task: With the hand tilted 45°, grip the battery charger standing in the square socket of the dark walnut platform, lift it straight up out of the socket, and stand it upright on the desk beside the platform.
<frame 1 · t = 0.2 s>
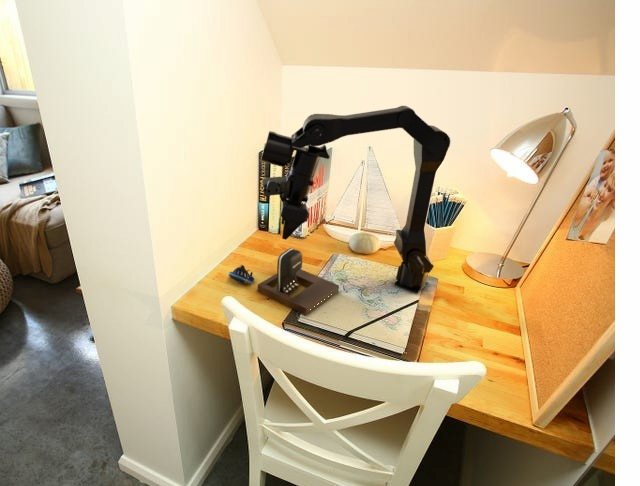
hand: (283, 231, 101), 15 cm above the table, tool pointing down, fingers open, 9 cm apart
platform: (297, 291, 105), on the table
sea urchin shell: (363, 249, 124), on the table
battery charger: (289, 291, 106), resting in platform
spaceship: (241, 281, 111), on the table
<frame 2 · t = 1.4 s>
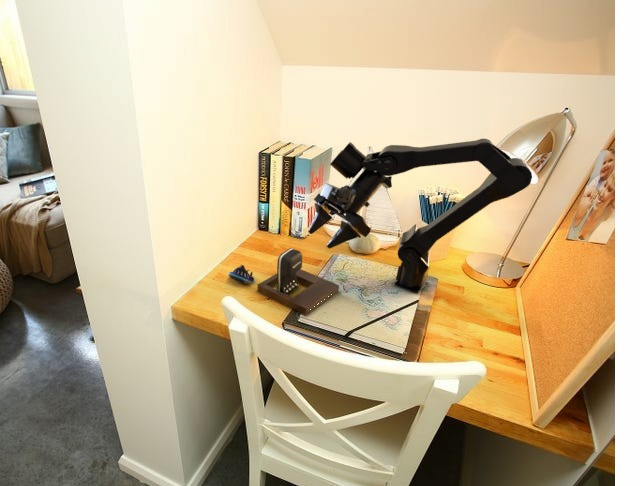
hand: (318, 240, 101), 13 cm above the table, tool tilted 45°, fingers open, 9 cm apart
nothing on the table moved.
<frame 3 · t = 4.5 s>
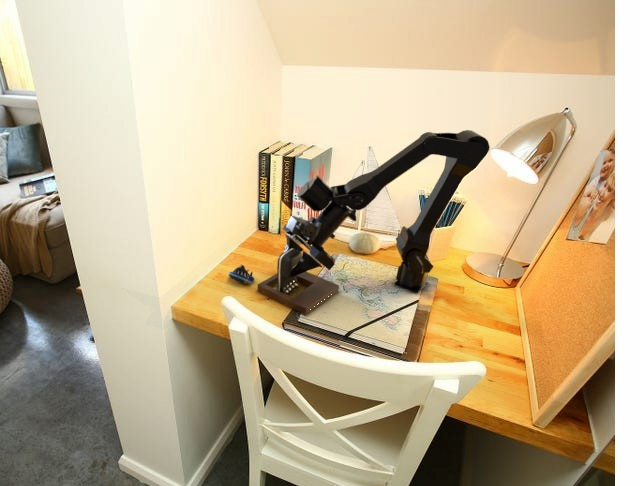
hand: (285, 270, 102), 7 cm above the table, tool tilted 45°, fingers closed on battery charger, 6 cm apart
battery charger: (289, 291, 106), resting in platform, touching gripper
everything else where it was.
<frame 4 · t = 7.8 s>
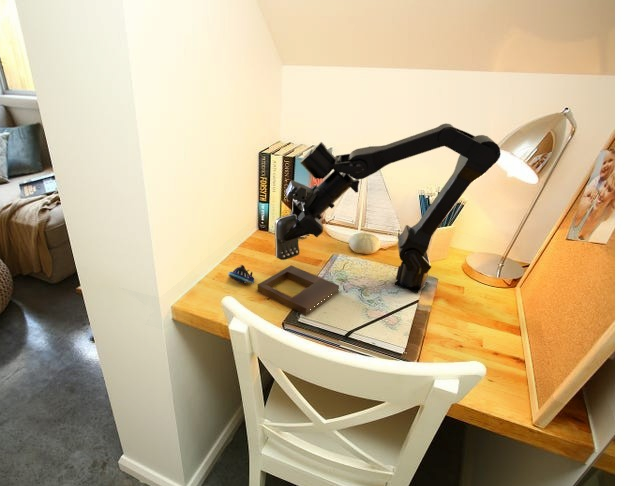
hand: (283, 234, 105), 13 cm above the table, tool tilted 45°, fingers closed on battery charger, 6 cm apart
battery charger: (288, 257, 108), point 6 cm above the table, touching gripper
everything else where it was.
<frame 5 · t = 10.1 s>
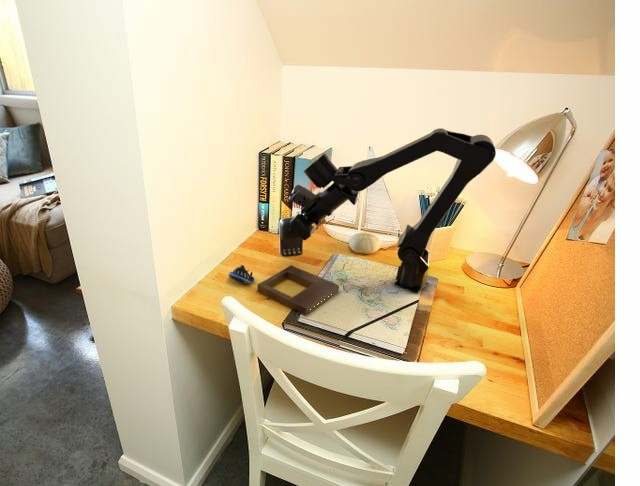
hand: (287, 233, 113), 10 cm above the table, tool tilted 45°, fingers closed on battery charger, 6 cm apart
battery charger: (291, 255, 116), point 3 cm above the table, touching gripper
everything else where it was.
when the fingers open (7 cm above the table, at t = 11.5 s): battery charger stays where it is, on the table.
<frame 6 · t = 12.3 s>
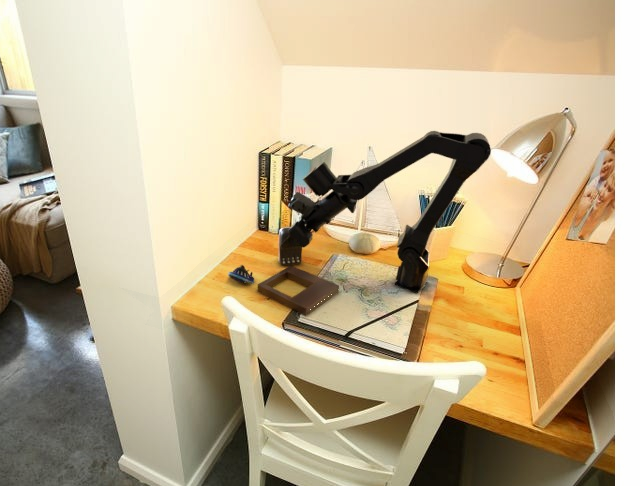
hand: (286, 240, 114), 8 cm above the table, tool tilted 45°, fingers open, 9 cm apart
battery charger: (290, 264, 118), on the table
everything else where it was.
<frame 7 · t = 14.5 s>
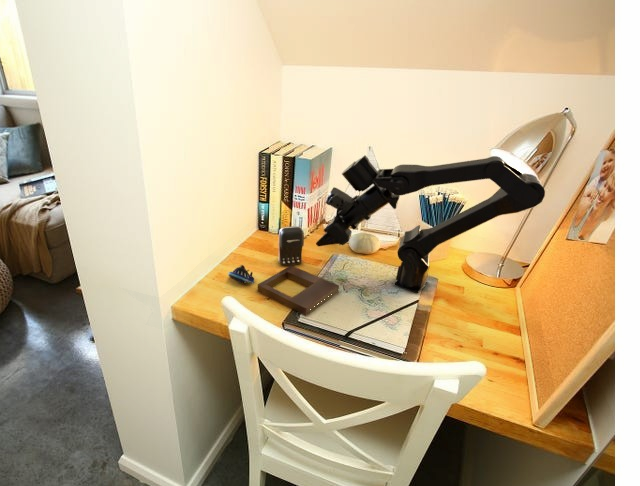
hand: (320, 237, 110), 10 cm above the table, tool tilted 45°, fingers open, 9 cm apart
nothing on the table moved.
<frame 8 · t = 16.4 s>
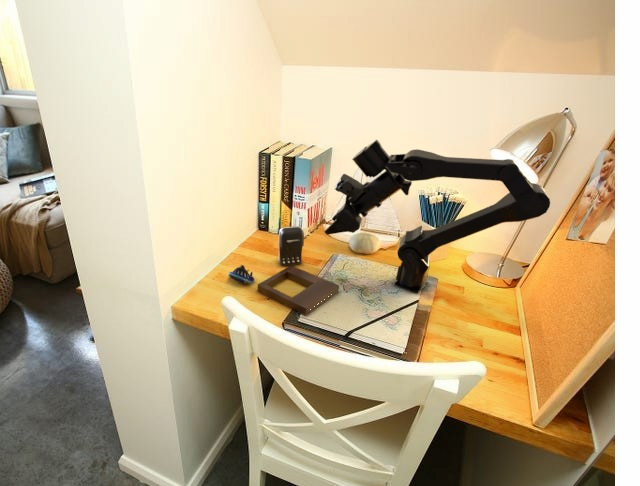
hand: (329, 226, 107), 14 cm above the table, tool tilted 45°, fingers open, 9 cm apart
nothing on the table moved.
at the end: battery charger touching table; battery charger inside the target area (0.1 cm from its centre), on the table; battery charger tilted 0° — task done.
